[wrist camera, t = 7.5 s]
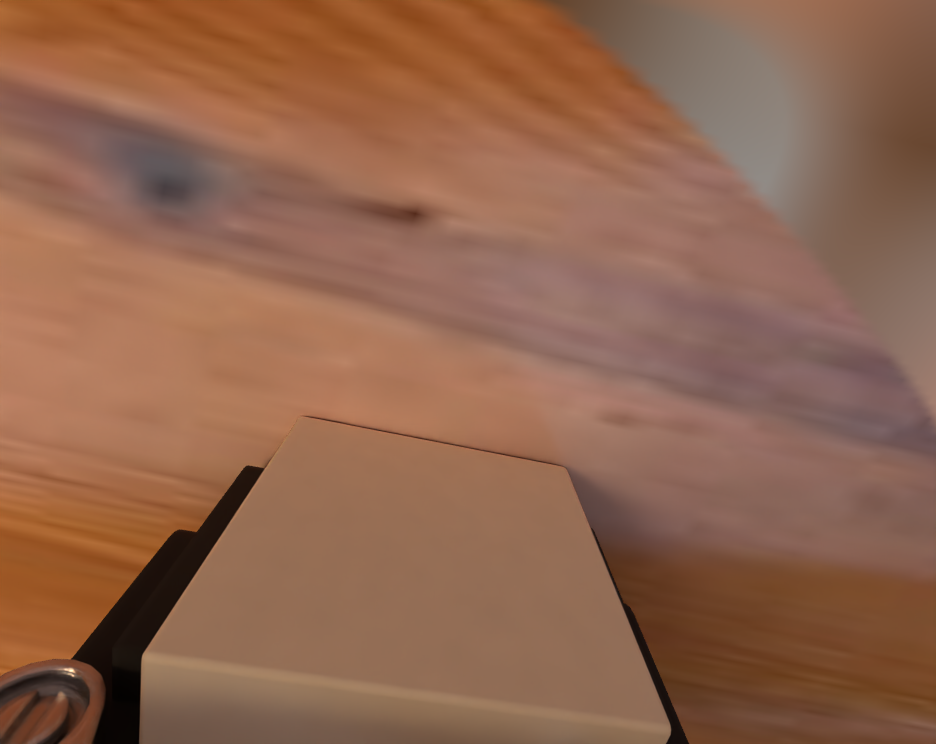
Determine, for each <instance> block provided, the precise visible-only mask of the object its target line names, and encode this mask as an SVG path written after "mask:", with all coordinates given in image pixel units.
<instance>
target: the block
mask: <svg viewBox="0 0 936 744" xmlns="http://www.w3.org/2000/svg"><path fill="white" fill-rule="evenodd" d="M670 735H671V726H670V723H669V720H668V718H667V715H666V713H665V710H664V708H663V705H662V703H661V700H660V698H659V696H658V693H657V691H656V688H655V686H654V683H653V681H652V678H651V676H650V673H649V671H648V668H647V666H646V664H645V661H644V659H643V656H642V654H641V651H640V649H639V646H638V644H637V641H636V639H635V636H634V634H633V631H632V629H631V627H630V624H629V622H628V619H627V617H626V614H625V612H624V609H623V607H622V604H621V602H620V599H619V597H618V595H617V592H616V590H615V587H614V585H613V582H612V580H611V577H610V575H609V572H608V570H607V567H606V565H605V562H604V560H603V558H602V555H601V553H600V550H599V548H598V545H597V543H596V540H595V538H594V535H593V533H592V530H591V528H590V526H589V523H588V521H587V518H586V516H585V513H584V511H583V508H582V506H581V503H580V501H579V498H578V496H577V493H576V491H575V489H574V486H573V484H572V481H571V479H570V476H569V474H568V471H567V469H566V468H565V467H562V466H557V465H552V464H547V463H542V462H537V461H531V460H526V459H521V458H516V457H511V456H506V455H500V454H495V453H490V452H485V451H480V450H475V449H470V448H464V447H459V446H454V445H449V444H444V443H439V442H433V441H428V440H423V439H418V438H413V437H408V436H402V435H397V434H392V433H387V432H382V431H377V430H372V429H366V428H361V427H356V426H351V425H346V424H341V423H335V422H330V421H325V420H320V419H315V418H310V417H305V416H300V417H299V418H298V419H297V421H296V422H295V424H294V425H293V427H292V429H291V430H290V432H289V433H288V435H287V436H286V438H285V439H284V441H283V442H282V444H281V445H280V447H279V448H278V450H277V451H276V453H275V454H274V456H273V457H272V459H271V460H270V462H269V463H268V465H267V466H266V468H265V470H264V471H263V473H262V474H261V476H260V477H259V479H258V480H257V482H256V483H255V485H254V486H253V488H252V489H251V491H250V492H249V494H248V495H247V497H246V498H245V500H244V501H243V503H242V504H241V506H240V507H239V509H238V511H237V512H236V514H235V515H234V517H233V518H232V520H231V521H230V523H229V524H228V526H227V527H226V529H225V530H224V532H223V533H222V535H221V536H220V538H219V539H218V541H217V542H216V544H215V545H214V547H213V548H212V550H211V552H210V553H209V555H208V556H207V558H206V559H205V561H204V562H203V564H202V565H201V567H200V568H199V570H198V571H197V573H196V574H195V576H194V577H193V579H192V580H191V582H190V583H189V585H188V586H187V588H186V589H185V591H184V592H183V594H182V596H181V597H180V599H179V600H178V602H177V603H176V605H175V606H174V608H173V609H172V611H171V612H170V614H169V615H168V617H167V618H166V620H165V621H164V623H163V624H162V626H161V627H160V629H159V630H158V632H157V633H156V635H155V637H154V638H153V640H152V641H151V643H150V644H149V646H148V647H147V649H146V650H145V652H144V653H143V655H142V661H141V697H140V733H139V744H666V743H667V741H668V739H669V737H670Z"/></svg>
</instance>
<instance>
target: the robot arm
mask: <svg viewBox="0 0 936 744" xmlns="http://www.w3.org/2000/svg"><path fill="white" fill-rule="evenodd" d="M264 470H265V468H259V467H253V466H246V467H245V468H244V469H243V470H242V471H241V473H240V474H239V475H238V477H237V478H236V480H235V481H234V482H233V484H232V485H231V486H230V488H229V489H228V490H227V492H226V493H225V495H224V496H223V497H222V499H221V500H220V501H219V503H218V504H217V505H216V507H215V508H214V509H213V511H212V512H211V514H210V515H209V516H208V518H207V519H206V520H205V522H204V523H203V524H202V526H201V527H200V529H199V530H198V531H197V532H192V531H186V530H177V531H175V532H174V533H173V534H172V535H171V536H170V537H169V538H168V539H167V541H166V542H165V543H164V544H163V546H162V547H161V548H160V549H159V551H158V552H157V553H156V554H155V556H154V557H153V558H152V559H151V561H150V562H149V563H148V564H147V565H146V567H145V568H144V569H143V570H142V572H141V573H140V574H139V575H138V577H137V578H136V579H135V580H134V582H133V583H132V584H131V585H130V587H129V588H128V589H127V590H126V592H125V593H124V594H123V595H122V597H121V598H120V599H119V600H118V602H117V603H116V604H115V605H114V607H113V608H112V609H111V610H110V612H109V613H108V614H107V615H106V617H105V618H104V619H103V620H102V622H101V623H100V624H99V625H98V627H97V628H96V629H95V630H94V632H93V633H92V634H91V635H90V637H89V638H88V639H87V640H86V641H85V643H84V644H83V645H82V646H81V648H80V649H79V650H78V651H77V653H76V654H75V655H74V656H73V658H72V659H71V660H69V659H52V660H46V661H41V662H36V663H31V664H28V665H25V666H23V667H20V668H17V669H15V670H12V671H10V672H7V673H5V674H3V675H2V676H0V744H139V733H140V697H141V661H142V655H143V653H144V652H145V650H146V649H147V647H148V646H149V644H150V643H151V641H152V640H153V638H154V637H155V635H156V633H157V632H158V630H159V629H160V627H161V626H162V624H163V623H164V621H165V620H166V618H167V617H168V615H169V614H170V612H171V611H172V609H173V608H174V606H175V605H176V603H177V602H178V600H179V599H180V597H181V596H182V594H183V592H184V591H185V589H186V588H187V586H188V585H189V583H190V582H191V580H192V579H193V577H194V576H195V574H196V573H197V571H198V570H199V568H200V567H201V565H202V564H203V562H204V561H205V559H206V558H207V556H208V555H209V553H210V552H211V550H212V548H213V547H214V545H215V544H216V542H217V541H218V539H219V538H220V536H221V535H222V533H223V532H224V530H225V529H226V527H227V526H228V524H229V523H230V521H231V520H232V518H233V517H234V515H235V514H236V512H237V511H238V509H239V507H240V506H241V504H242V503H243V501H244V500H245V498H246V497H247V495H248V494H249V492H250V491H251V489H252V488H253V486H254V485H255V483H256V482H257V480H258V479H259V477H260V476H261V474H262V473H263V471H264ZM591 530H592V533H593V535H594V538H595V540H596V543H597V545H598V548H599V550H600V553H601V555H602V558H603V560H604V562H605V565H606V567H607V570H608V572H609V575H610V577H611V580H612V582H613V585H614V587H615V590H616V592H617V595H618V597H619V599H620V602H621V604H622V607H623V609H624V612H625V614H626V617H627V619H628V622H629V624H630V627H631V629H632V631H633V634H634V636H635V639H636V641H637V644H638V646H639V649H640V651H641V654H642V656H643V659H644V661H645V664H646V666H647V668H648V671H649V673H650V676H651V678H652V681H653V683H654V686H655V688H656V691H657V693H658V696H659V698H660V700H661V703H662V705H663V708H664V710H665V713H666V715H667V718H668V720H669V723H670V726H671V735H670V737H669V739H668V741H667V743H666V744H689V743H688V740H687V738H686V736H685V733H684V731H683V729H682V726H681V724H680V721H679V719H678V717H677V714H676V712H675V710H674V707H673V705H672V703H671V700H670V698H669V696H668V693H667V691H666V688H665V686H664V684H663V681H662V679H661V677H660V674H659V672H658V670H657V667H656V665H655V663H654V660H653V658H652V655H651V653H650V651H649V648H648V646H647V644H646V641H645V639H644V637H643V634H642V632H641V630H640V627H639V625H638V623H637V620H636V618H635V615H634V613H633V612H632V610H631V608H630V607H629V606H628V605H626V604H624V603H623V600H622V598H621V595H620V593H619V591H618V588H617V586H616V583H615V581H614V578H613V576H612V573H611V571H610V569H609V566H608V564H607V561H606V559H605V556H604V554H603V552H602V549H601V547H600V544H599V542H598V539H597V537H596V535H595V532H594V531H593V529H592V528H591Z"/></svg>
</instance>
